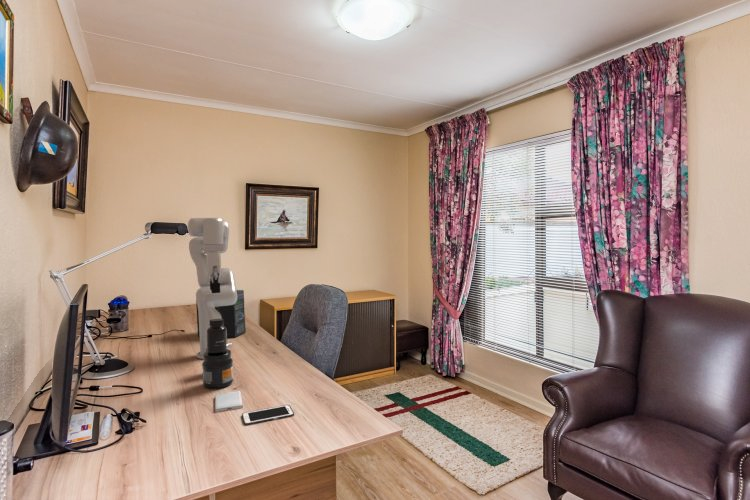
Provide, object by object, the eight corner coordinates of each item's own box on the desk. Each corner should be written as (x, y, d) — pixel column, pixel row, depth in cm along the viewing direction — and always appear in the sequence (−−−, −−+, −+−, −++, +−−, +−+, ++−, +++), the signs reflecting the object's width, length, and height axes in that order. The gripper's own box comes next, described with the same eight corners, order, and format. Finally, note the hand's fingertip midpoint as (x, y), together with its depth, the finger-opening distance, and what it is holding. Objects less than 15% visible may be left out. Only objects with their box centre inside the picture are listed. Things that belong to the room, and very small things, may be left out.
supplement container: (239, 381, 154) (238, 350, 153) (217, 391, 144) (216, 358, 143) (218, 377, 158) (217, 347, 157) (196, 387, 148) (195, 354, 148)
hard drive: (215, 394, 139) (215, 408, 127) (240, 390, 142) (242, 404, 130) (215, 399, 139) (215, 413, 128) (240, 395, 142) (243, 409, 130)
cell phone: (241, 416, 125) (241, 413, 125) (289, 407, 131) (289, 404, 131) (244, 427, 118) (244, 423, 118) (295, 417, 124) (294, 413, 124)
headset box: (196, 337, 221) (195, 289, 220) (209, 331, 233) (207, 286, 232) (235, 338, 218) (234, 289, 216) (246, 332, 229) (244, 286, 228)
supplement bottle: (220, 355, 147) (219, 322, 146) (203, 354, 148) (202, 321, 147) (230, 349, 153) (229, 318, 153) (214, 349, 155) (213, 317, 154)
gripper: (202, 248, 170) (204, 289, 171) (204, 249, 154) (205, 295, 155) (222, 247, 173) (223, 288, 174) (225, 249, 157) (226, 293, 158)
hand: (215, 291), depth 164 cm, fingers open, 9 cm apart
